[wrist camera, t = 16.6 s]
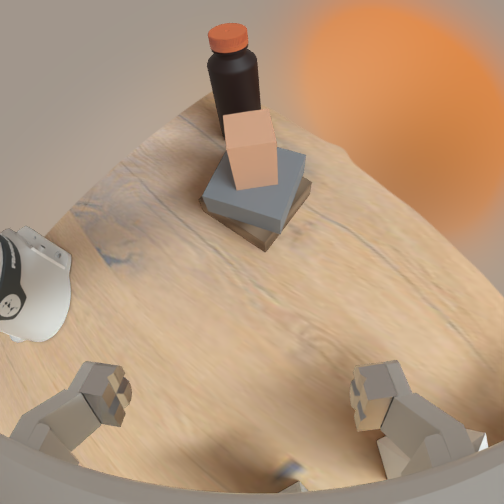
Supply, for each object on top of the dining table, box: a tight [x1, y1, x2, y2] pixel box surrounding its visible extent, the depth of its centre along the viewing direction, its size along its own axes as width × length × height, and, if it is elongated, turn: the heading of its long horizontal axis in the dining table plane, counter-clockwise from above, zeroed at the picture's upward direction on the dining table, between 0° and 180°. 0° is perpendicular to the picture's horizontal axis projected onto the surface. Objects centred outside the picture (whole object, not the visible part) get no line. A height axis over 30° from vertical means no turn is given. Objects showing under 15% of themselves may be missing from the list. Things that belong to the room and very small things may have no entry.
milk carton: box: [377, 428, 488, 479], centre depth 22 cm, size 7×7×19 cm
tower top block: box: [202, 147, 306, 234], centre depth 40 cm, size 10×10×4 cm
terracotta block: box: [223, 109, 278, 191], centre depth 34 cm, size 5×5×8 cm
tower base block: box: [199, 177, 312, 252], centre depth 44 cm, size 11×11×4 cm
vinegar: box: [207, 23, 261, 138], centre depth 41 cm, size 7×7×20 cm
